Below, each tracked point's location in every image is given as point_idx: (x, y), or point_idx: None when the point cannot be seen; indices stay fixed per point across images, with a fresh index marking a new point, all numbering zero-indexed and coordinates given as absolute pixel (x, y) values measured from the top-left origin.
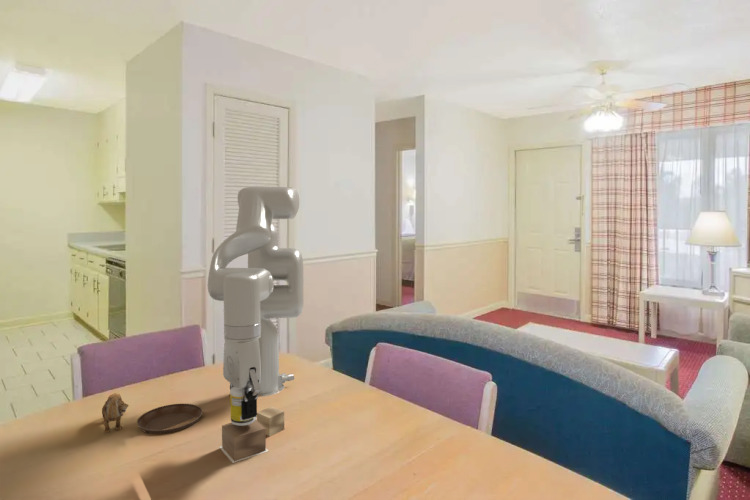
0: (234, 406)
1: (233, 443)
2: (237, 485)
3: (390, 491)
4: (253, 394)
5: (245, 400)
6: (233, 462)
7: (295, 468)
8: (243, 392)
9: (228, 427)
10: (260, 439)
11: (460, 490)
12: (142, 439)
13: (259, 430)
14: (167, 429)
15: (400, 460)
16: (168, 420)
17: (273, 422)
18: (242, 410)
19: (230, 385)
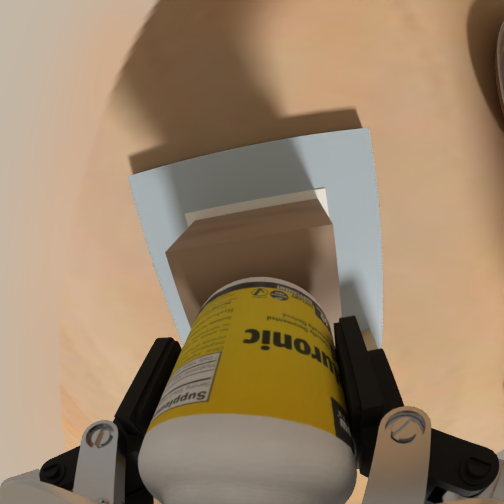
0: (191, 356)
1: (180, 240)
2: (105, 207)
3: (64, 411)
4: (36, 473)
5: (85, 431)
6: (187, 216)
7: (142, 349)
8: (90, 475)
9: (290, 249)
10: None
11: (69, 447)
12: (491, 13)
13: None
14: (497, 58)
15: None
16: None
17: None
18: (137, 373)
19: (414, 445)
